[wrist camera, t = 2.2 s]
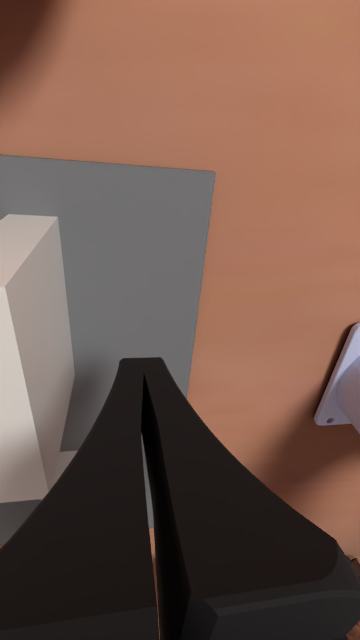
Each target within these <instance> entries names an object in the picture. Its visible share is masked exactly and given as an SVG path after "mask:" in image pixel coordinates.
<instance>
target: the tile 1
mask: <svg viewBox="0 0 360 640" xmlns="http://www.w3.org/2000/svg"><path fill="white" fill-rule="evenodd" d="M74 377H75V371H74V361H73V352H72V343H71V334H70V324H69V315H68V306H67V296H66V287H65V278H64V268H63V259H62V250H61V241H60V231H59V222H58V217H55V216H35V215H14V214H8V215H7V216H5V217H4V218H3V219H1V220H0V503H5V502H16V501H26V500H37V499H43V498H44V497H45V496H46V495H47V493H48V492H49V491H50V489H51V488H52V486H53V481H54V476H55V471H56V466H57V461H58V456H59V451H60V446H61V441H62V436H63V431H64V426H65V421H66V416H67V411H68V406H69V401H70V397H71V392H72V387H73V382H74Z"/></svg>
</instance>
